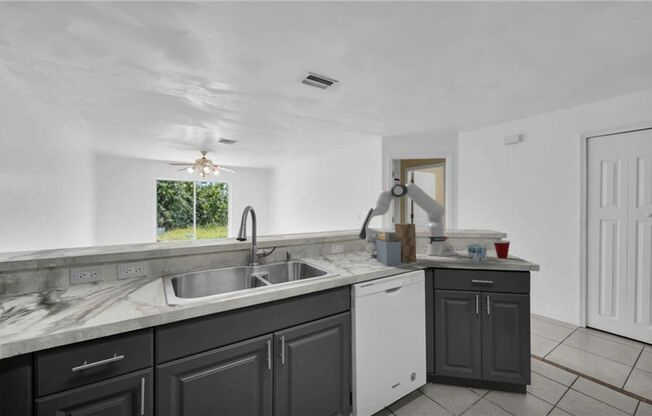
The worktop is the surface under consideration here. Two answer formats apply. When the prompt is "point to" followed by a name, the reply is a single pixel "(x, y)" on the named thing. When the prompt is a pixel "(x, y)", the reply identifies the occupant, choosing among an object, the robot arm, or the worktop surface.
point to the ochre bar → (388, 236)
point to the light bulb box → (477, 252)
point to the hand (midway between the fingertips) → (382, 233)
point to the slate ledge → (388, 252)
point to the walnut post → (406, 241)
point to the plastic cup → (502, 248)
